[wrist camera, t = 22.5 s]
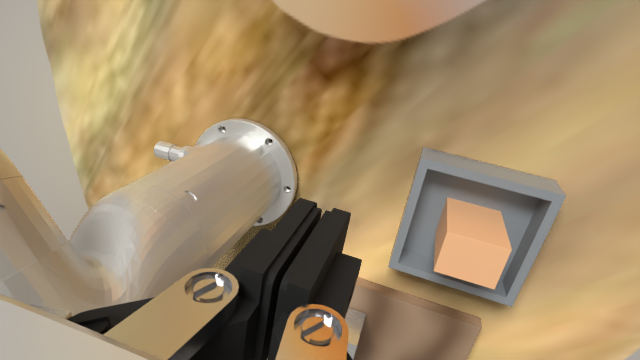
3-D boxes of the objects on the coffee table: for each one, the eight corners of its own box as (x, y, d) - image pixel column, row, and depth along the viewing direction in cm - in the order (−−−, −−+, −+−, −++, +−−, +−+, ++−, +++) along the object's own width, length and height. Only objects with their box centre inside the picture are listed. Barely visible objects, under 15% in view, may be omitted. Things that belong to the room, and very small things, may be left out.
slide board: (272, 326, 52) (256, 355, 47) (284, 253, 47) (267, 277, 42) (446, 392, 47) (446, 430, 43) (480, 318, 42) (484, 352, 38)
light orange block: (435, 232, 39) (433, 271, 33) (447, 197, 38) (447, 231, 31) (486, 246, 38) (494, 289, 32) (500, 211, 37) (511, 249, 30)
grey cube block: (309, 331, 48) (295, 363, 43) (316, 296, 46) (302, 325, 41) (355, 348, 47) (346, 383, 42) (365, 313, 44) (357, 346, 40)
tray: (392, 249, 42) (388, 267, 39) (423, 146, 37) (421, 158, 34) (506, 284, 40) (511, 306, 37) (555, 180, 35) (566, 195, 32)
